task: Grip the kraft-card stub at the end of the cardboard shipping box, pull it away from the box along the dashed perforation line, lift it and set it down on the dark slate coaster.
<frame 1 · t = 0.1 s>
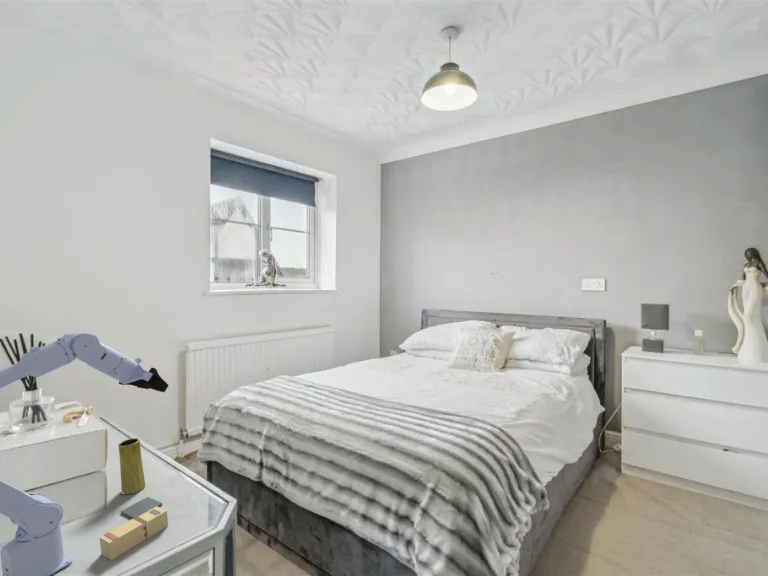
hand: (157, 387, 106), 32 cm above the table, tool tilted 50°, fingers open, 7 cm apart
stub: (153, 529, 96), on the table
coaster: (141, 509, 104), on the table
vase: (133, 489, 115), on the table
cardboard shipping box: (124, 546, 90), on the table
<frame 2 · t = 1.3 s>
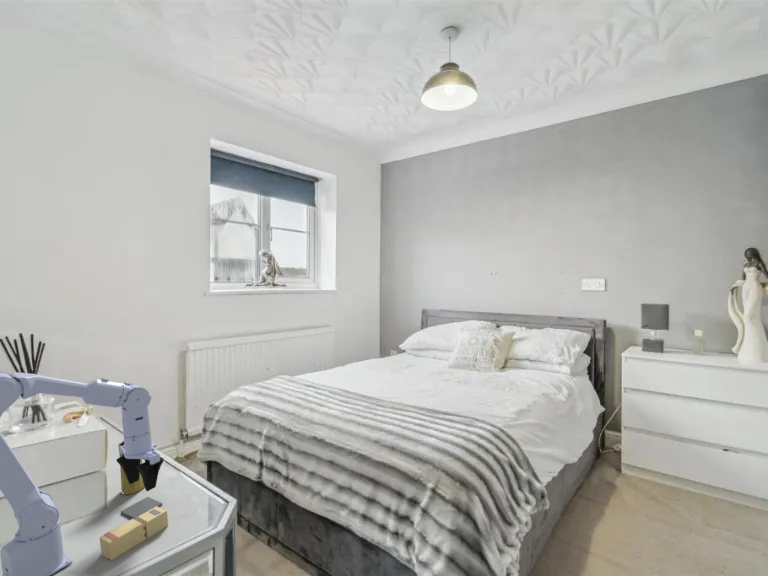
hand: (142, 485, 98), 9 cm above the table, tool pointing down, fingers open, 7 cm apart
nothing on the table moved.
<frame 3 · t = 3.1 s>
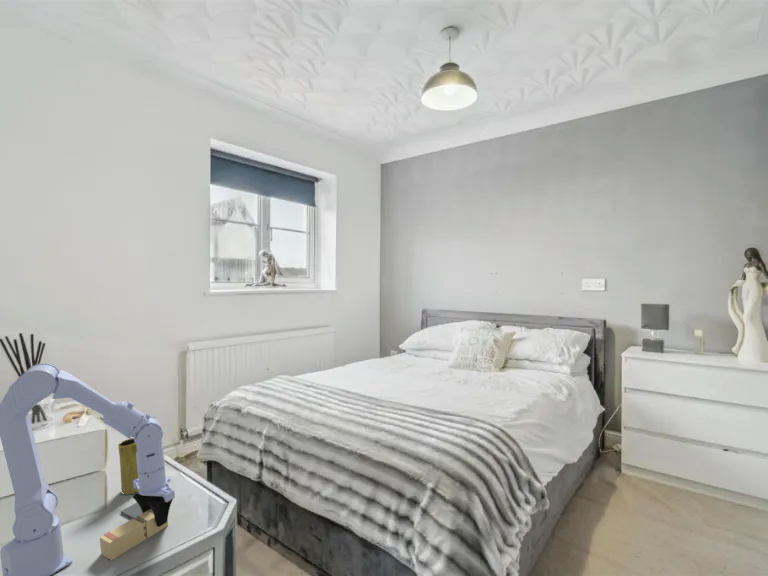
hand: (156, 521, 96), 1 cm above the table, tool pointing down, fingers closed on stub, 4 cm apart
stub: (152, 529, 96), on the table, touching gripper
everything else where it was.
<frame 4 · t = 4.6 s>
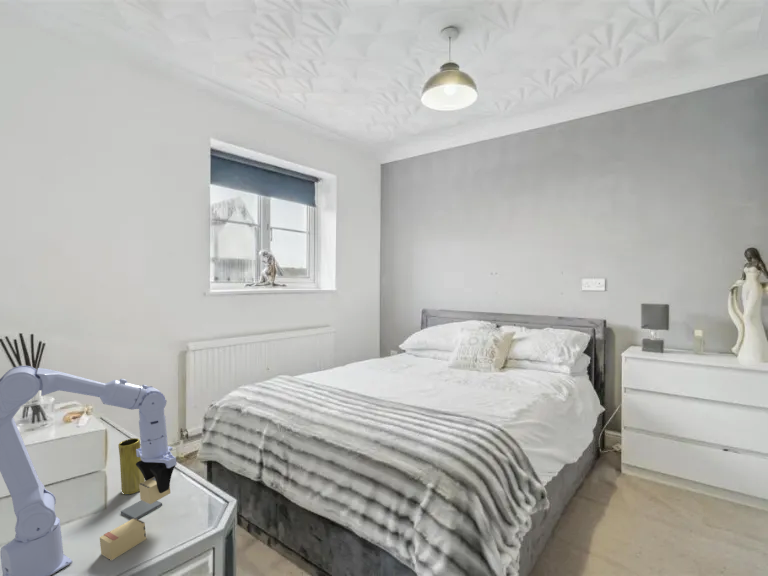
hand: (158, 488, 98), 8 cm above the table, tool pointing down, fingers closed on stub, 4 cm apart
stub: (155, 496, 98), point 7 cm above the table, touching gripper
everything else where it was.
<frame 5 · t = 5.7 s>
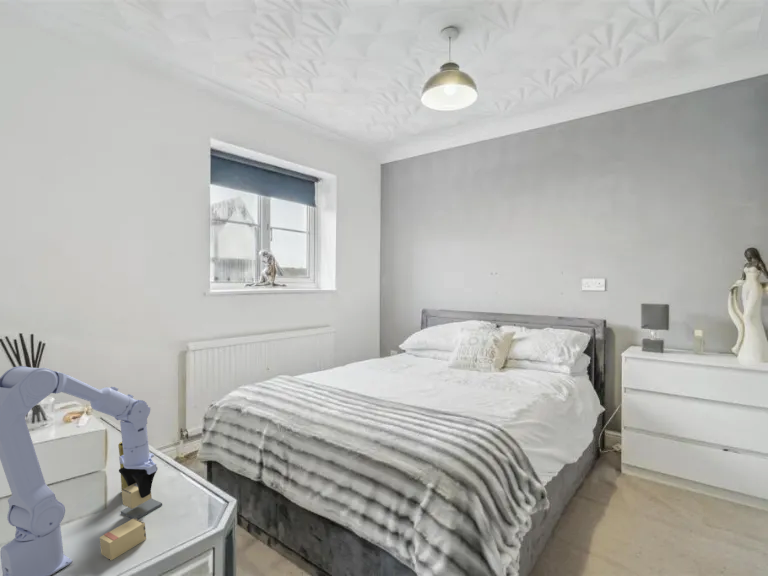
hand: (140, 493, 104), 4 cm above the table, tool pointing down, fingers closed on stub, 4 cm apart
stub: (137, 501, 103), point 3 cm above the table, touching gripper
everything else where it was.
when the fingers open (3 cm above the table, at t = 6.3 s): stub stays where it is, resting on coaster.
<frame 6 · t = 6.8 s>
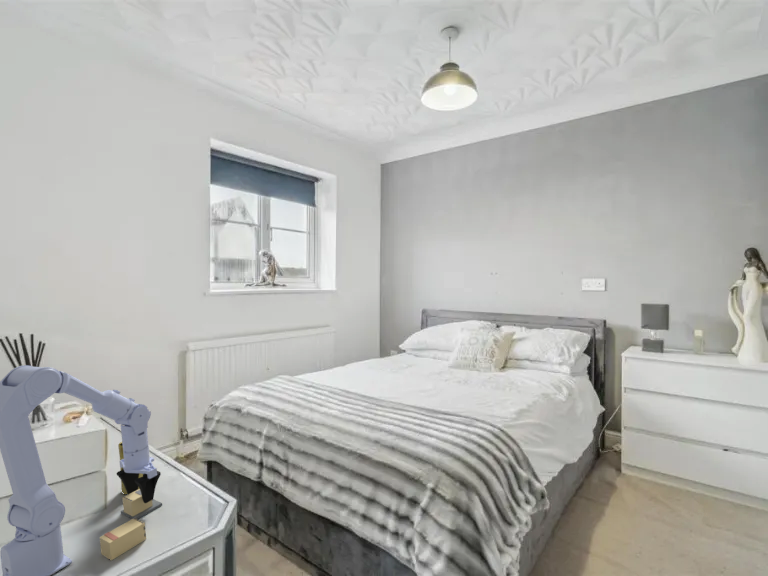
hand: (140, 497, 104), 3 cm above the table, tool pointing down, fingers open, 7 cm apart
stub: (138, 508, 103), point 1 cm above the table, touching coaster
everything else where it was.
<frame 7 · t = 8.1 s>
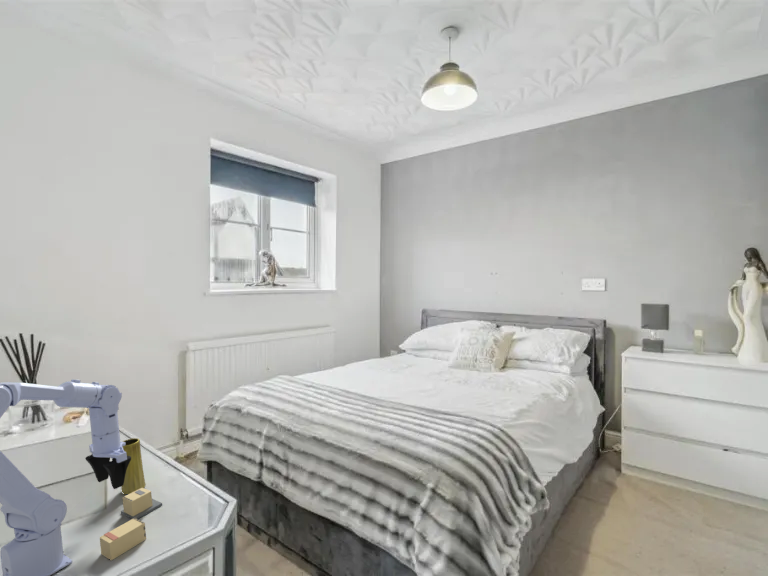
hand: (110, 483, 99), 10 cm above the table, tool pointing down, fingers open, 7 cm apart
nothing on the table moved.
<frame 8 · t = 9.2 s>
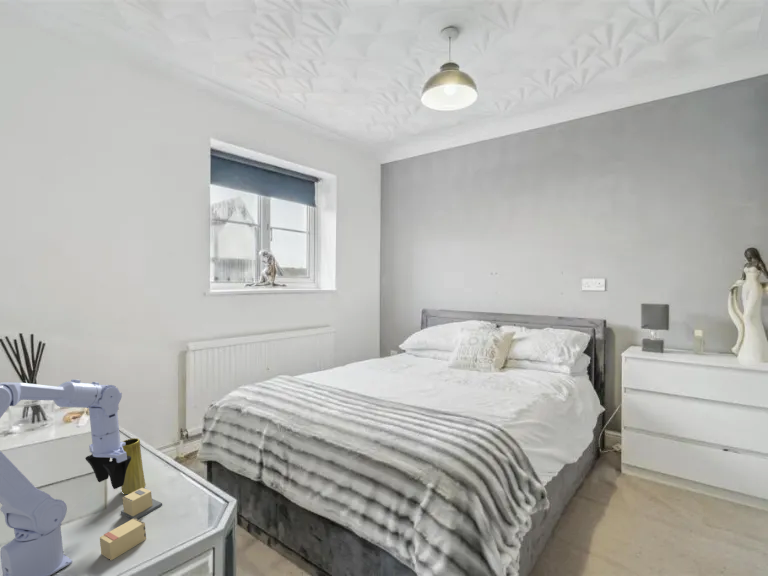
hand: (110, 483, 99), 10 cm above the table, tool pointing down, fingers open, 7 cm apart
nothing on the table moved.
at the end: stub inside the target area on the coaster (0.9 cm from its centre), point 0.6 cm above the coaster's base; stub moved 11.8 cm from its start; the gripper is holding nothing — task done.
